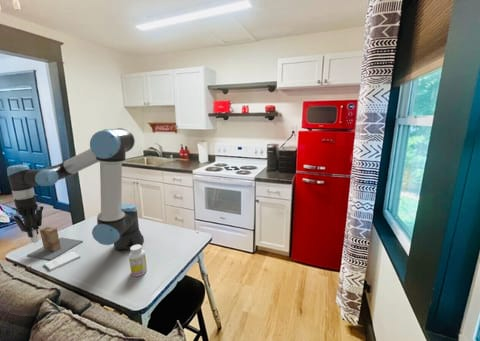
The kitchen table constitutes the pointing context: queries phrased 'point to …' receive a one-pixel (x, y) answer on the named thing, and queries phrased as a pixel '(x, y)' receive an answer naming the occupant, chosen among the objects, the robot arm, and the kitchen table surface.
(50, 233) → the brown box
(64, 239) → the mat
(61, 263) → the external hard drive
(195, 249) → the kitchen table surface
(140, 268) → the supplement bottle
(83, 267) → the kitchen table surface
